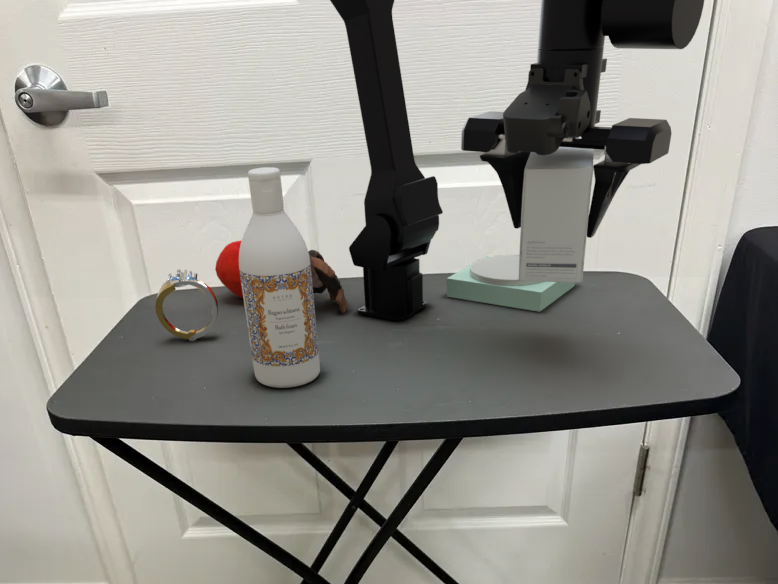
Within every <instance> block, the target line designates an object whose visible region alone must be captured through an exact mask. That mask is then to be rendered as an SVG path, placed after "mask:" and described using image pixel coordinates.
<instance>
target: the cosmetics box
mask: <svg viewBox="0 0 778 584" xmlns="http://www.w3.org/2000/svg"><path fill="white" fill-rule="evenodd" d="M594 155H595V149H585V148H571V147H559V148H558V149H557V151H555V152H554V153H552V154H549V155H538V154H537V153H535V152H531V153H530V156H529V158H528V161H527V164H526V166H525V170H524V182H523V195H522V213H521V227H520V236H519V254H518V255H519V281H540V282H569V283H575V284H582V283H583V279H584V268H585V257H586V246H587V238H588V237H587V227H588V217H589V212H590V206H591V196H592V195H591V193H592V184H593V177H594V168H593V166H594V157H595V156H594Z"/></svg>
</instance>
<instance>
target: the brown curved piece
mask: <svg viewBox="0 0 778 584" xmlns="http://www.w3.org/2000/svg"><path fill="white" fill-rule="evenodd" d="M308 253H309V257H310V263H311V274H312V285H313V295H314V294H323V293H324V292H325V291H327V293H328V295H329V300H330V301H331V302H336V304H337V305H339V311H340V313H341V314H345V313H346V312H347V309H348V301H347V299H346V296H345V290H344V289H343V286H342V285H341V281H340V280H339V277H338V276H337V274H336V271H335V270H334V269H333V268H332V267H331V266H330V265H329V264H328V263H327V262H326V261H325V259H324V256H323V255H322V254H321V253H320V252H319V251H318V250H315V249H309V250H308Z"/></svg>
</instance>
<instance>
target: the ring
mask: <svg viewBox="0 0 778 584" xmlns="http://www.w3.org/2000/svg"><path fill="white" fill-rule="evenodd" d="M167 275H168V279H166V280H165V281H164V282H163V283H162V284H161V286H160V288H159V290H158V292H157V296H156V300H155V304H154V307H155V314H156V316H157V319H158V321H159V322H160V324H161V325H162V327H163V328H164V329H165V330H166V331H167V332H169V333H170V334H171V335H173V336H175V337H178V338H180V339H186V340H189V341H190V342H195V341H196V340H197V339H200V338H202V337H204V336H206V335H207V334H208V333H210V331H211V330H212V329H213V328H214V326H215V324H216V322H217V320H218V316H219V303H218V299H217V297H216V294H215V292H214V290H212V288H211V287H210V286H209V285H208V284H206V283H205V282H203V281H202V280H200V279H198V272H194V273H193V271H192V270H189V273H188V270H187V269H184V271H181V269H179V268H178V269H176V274H175V275H172V273H171V272H170V273H168V274H167ZM186 286H192V287H194V288H197V289H198V290H200V291H201V292H203V294H205V296H206V297H207V299H208V301H209V303H210V307H211V315H210V316H211V317H210V320H209V322H208V323H207V324H206V325H205V326H204V327H203V328H201V329H200V330H199V329H198V330H195V329H190V330H189V331H185V330H181V329H179V328H177V327H176V326H174V325H173V324H172V323H171V322H170V321H169V320H168V319H167V317H166V315H165V313H164V307H163V306H164V301H165V299H166V298H167V296H169V295H170V294H171V293H172V292H174V291H176V288H183V287H186Z"/></svg>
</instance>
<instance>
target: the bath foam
mask: <svg viewBox="0 0 778 584" xmlns="http://www.w3.org/2000/svg"><path fill="white" fill-rule="evenodd" d="M247 179H248V185H249V193H250V201H251V207H252V208H251V209H252V214H251V217H250V219H249V220H248V221H249V222H248V224H247V226H246V228H245V230H244V232H243V236H242V238H241V240H240V241H241V244H240V250H239V272H240V278H241V285H242V292H243V298H242V299H243V305H244V312H245V320H246V327H247V333H248V339H249V346H250V353H251V354H250V355H251V359H252V366H253V373H254V376H255V379H256V380H257V381H258V382H259V383H260V384H262V385H264V386H267V387H269V388H270V387H271V388H277V389H285V388H286V389H289V388H296V387H300V386H304V385H306V384H308V383H311V382H312V381H314V380H316V378H318V376H319V374H320V372H321V363H320V353H319V350H320V349H319V340H318V339H319V338H318V329H317V319H316V317H317V316H316V309H315V308H316V307H315V297H314V294H313V285H312V274H311V263H310V257H309V253H308V251H309V250H308V247H307V244H306V241H305V239H304V237H303V235H302V233H301V232H300V230H299V229H298V228H297V226H296V225H295V223H294V222H293V221H292V219H291V218H290V216H289V215H288V214H287V213H286V211H285V209H284V208H285V207H284V196H283V187H282V177H281V170H280V168H278V167H272V166H271V167H270V166H267V167H257V168H252V169H250V170H248V172H247Z"/></svg>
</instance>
